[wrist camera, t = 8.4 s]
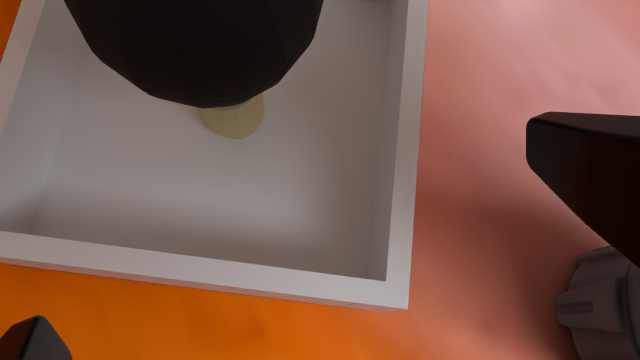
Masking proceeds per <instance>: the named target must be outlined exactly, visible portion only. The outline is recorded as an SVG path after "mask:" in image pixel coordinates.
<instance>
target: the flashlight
mask: <svg viewBox="0 0 640 360" xmlns="http://www.w3.org/2000/svg"><path fill="white" fill-rule="evenodd" d="M576 264H577V265H578V267H579V268H578V269H577V270H576V272H575V273H574V275H573V276H572V279H571V281H570V285H569V288H568V291H567V292H564V293H561V294H559V295H558V296H557V298H556V305H557V319H558V323H560V324H561V325H563V326H566V327H569V328H570V329H571V333H572V336H573V340H574V344H575V347H576V349H577V352H578V354H579V357H580V359H581V360H640V269H639V268H637V267H636V266H635V265H634V264H633V263H631V262H630V261H629V260H628V259H627V258H625V257H624V256H623V255H622V254H621V253H619V252H618V251H617V250H616V249H615V248H614V247H612V246H611V245H610V246H606V247H602V248H598V249H595V250H593V251H591V252H587V253H583V254H581V255H580V256H578V257H577V259H576Z"/></svg>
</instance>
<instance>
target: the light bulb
mask: <svg viewBox="0 0 640 360" xmlns="http://www.w3.org/2000/svg"><path fill="white" fill-rule="evenodd" d="M64 2H65V4H66V6H67V8H68V10H69V12H70V13H71V15H72V17H73V19H74V21H75V22H76V24H77V26H78V28H79V30H80V31H81V33H82V35H83V37H84V39H85V41H86V42H87V44H88V46H89V47H90V49H91V51H92V52H93V53H94V54H95V55H96V56H97V57H98V58H99V59H100V61H101V62H103V63H104V64H105V65H107V66H108V67H110V68H111V69H112V70H114V71H115V72H117V73H118V74H119V75H121V76H122V77H124V78H125V79H126V80H128V81H129V82H131V83H132V84H134V85H135V86H136V87H138V88H139V89H141V90H142V91H144V92H145V93H147V94H148V95H150V96H153V97H156V98H158V99H163V100H167V101H171V102H176V103H180V104H184V105H188V106H193V107H197V109H198V112H199V114H200V117H201V119H202V120H203V122H204V124H205V125H206V127H207V128H209V129H210V130H212V131H213V132H214V133H216V134H219V135H220V136H224V137H228V138H231V139H244V138H246V137H247V136H249V135H251V134H253V133H254V132H255V131H256V130H257V128H258V127H259V126H260V125H261V124H262V120H263V117H264V113H265V109H264V99H263V92H264V91H266V90H268V89H270V88H272V87H273V86H275V85H276V84H278V83H279V82H280V81H281V80H282V78H283V77H284V76H285V75H286V74H287V72H288V71H289V70H290V69H291V68H292V66H293V65H294V64H295V63H296V62H297V60H298V59H299V58H300V57H301V55H302V54H303V53H304V52H305V51H306V49H307V48H308V47H309V46H310V44H311V42H312V40H313V39H314V35H315V32H316V28H317V24H318V21H319V17H320V13H321V9H322V6H323V2H324V0H64Z"/></svg>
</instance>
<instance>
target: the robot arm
mask: <svg viewBox="0 0 640 360" xmlns="http://www.w3.org/2000/svg"><path fill="white" fill-rule="evenodd" d="M526 159H527V162H528V165H529V166H530V168H531V169H532V170H533V171H534V172H535V173H536V174H537V175H538V176H539V177H540V178H541V179H542V181H543V182H544V183H545V184H546V185H547V186H548V187H549V188H550V189H551V190H552V191H553V192H554V193H555V194H556V195H557V196H558V197H559V198H560V199H561V200H562V201H563V202H564V203H565V204H566V205H567V206H568V207H569V208H570V209H571V210H572V211H573V212H574V213H575V214H576V215H577V216H578V217H579V218H580V219H581V220H582V221H583V222H584V223H585V224H586V225H587V226H589V227H590V228H591V229H592V230H593V231H594V232H596V233H597V234H598V235H599V236H600V237H602V238H603V239H604V240H605V241H606V242H608V243H609V244H610V245H611V246H612V247H614V248H615V249H616V250H617V251H618V252H619V253H621V254H622V255H623V256H624V257H625V258H627V259H628V260H629V261H630V262H631V263H633V264H634V265H635V266H636V267H637V268H639V269H640V116H627V115H607V114H588V113H568V112H545V113H543V114H540V115H538V116H535V117H533V118H531V119H530V120H529V121H528V123H527V125H526ZM0 360H72V356H71V353H70V351H69V349H68V347H67V346H66V345H65V343H64V342H63V341H62V339H61V338H60V336H59V335H58V334H57V332H56V331H55V330H54V328H53V327H52V325H51V324H50V323H49V321H48V320H47V319H46V318H45V317H43V316H40V315H36V316H33V317H31V318H28V319H26V320H23V321H21V322H18V323H16V324H14V325H12V326H11V327H10V328H9V329H8V330H7V332H6V333H5V334H4V335H3V336H2V337H1V339H0Z"/></svg>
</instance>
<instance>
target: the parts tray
mask: <svg viewBox="0 0 640 360" xmlns="http://www.w3.org/2000/svg"><path fill="white" fill-rule="evenodd" d="M428 1H429V0H324V2H323V6H322V9H321V13H320V17H319V21H318V24H317V28H316V32H315V35H314V39H313V40H312V42H311V44H310V46H309V47H308V48H307V49H306V51H305V52H304V53H303V54H302V55H301V57H300V58H299V59H298V60H297V62H296V63H295V64H294V65H293V66H292V68H291V69H290V70H289V71H288V72H287V74H286V75H285V76H284V77H283V78H282V80H281V81H280V82H279V83H278V84H276V85H275V86H273V87H272V88H270V89H268V90H266V91H264V92H263V99H264V109H265V113H264V117H263V120H262V124H261V125H260V126H259V127H258V128H257V130H256V131H255V132H254V133H253V134H251V135H249V136H247V137H246V138H244V139H231V138H228V137H224V136H220V135H219V134H216V133H214V132H213V131H212V130H210V129H209V128H207V127H206V125H205V124H204V122H203V120H202V119H201V117H200V114H199V112H198V109H197V107H193V106H188V105H184V104H180V103H176V102H171V101H167V100H163V99H158V98H156V97H153V96H150V95H148V94H147V93H145V92H144V91H142V90H141V89H139V88H138V87H136V86H135V85H134V84H132V83H131V82H129V81H128V80H126V79H125V78H124V77H122V76H121V75H119V74H118V73H117V72H115V71H114V70H112V69H111V68H110V67H108V66H107V65H105V64H104V63H103V62H101V61H100V59H99V58H98V57H97V56H96V55H95V54H94V53H93V52H92V51H91V49H90V47H89V46H88V44H87V42H86V41H85V39H84V37H83V35H82V33H81V31H80V30H79V28H78V26H77V24H76V22H75V21H74V19H73V17H72V15H71V13H70V12H69V10H68V8H67V6H66V4H65V2H64V0H22V1H21V4H20V7H19V10H18V13H17V16H16V19H15V22H14V25H13V28H12V31H11V34H10V37H9V39H8V42H7V45H6V48H5V51H4V54H3V57H2V60H1V63H0V262H1V263H6V264H10V265H18V266H26V267H34V268H42V269H49V270H57V271H65V272H73V273H81V274H88V275H96V276H104V277H112V278H120V279H128V280H135V281H143V282H151V283H159V284H167V285H174V286H182V287H190V288H198V289H206V290H213V291H221V292H229V293H237V294H245V295H252V296H260V297H268V298H276V299H284V300H292V301H299V302H307V303H315V304H323V305H331V306H338V307H346V308H354V309H362V310H370V311H377V312H382V311H394V310H405V309H408V299H409V284H410V269H411V254H412V239H413V224H414V210H415V195H416V180H417V165H418V150H419V135H420V120H421V105H422V91H423V76H424V61H425V46H426V31H427V16H428Z"/></svg>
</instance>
